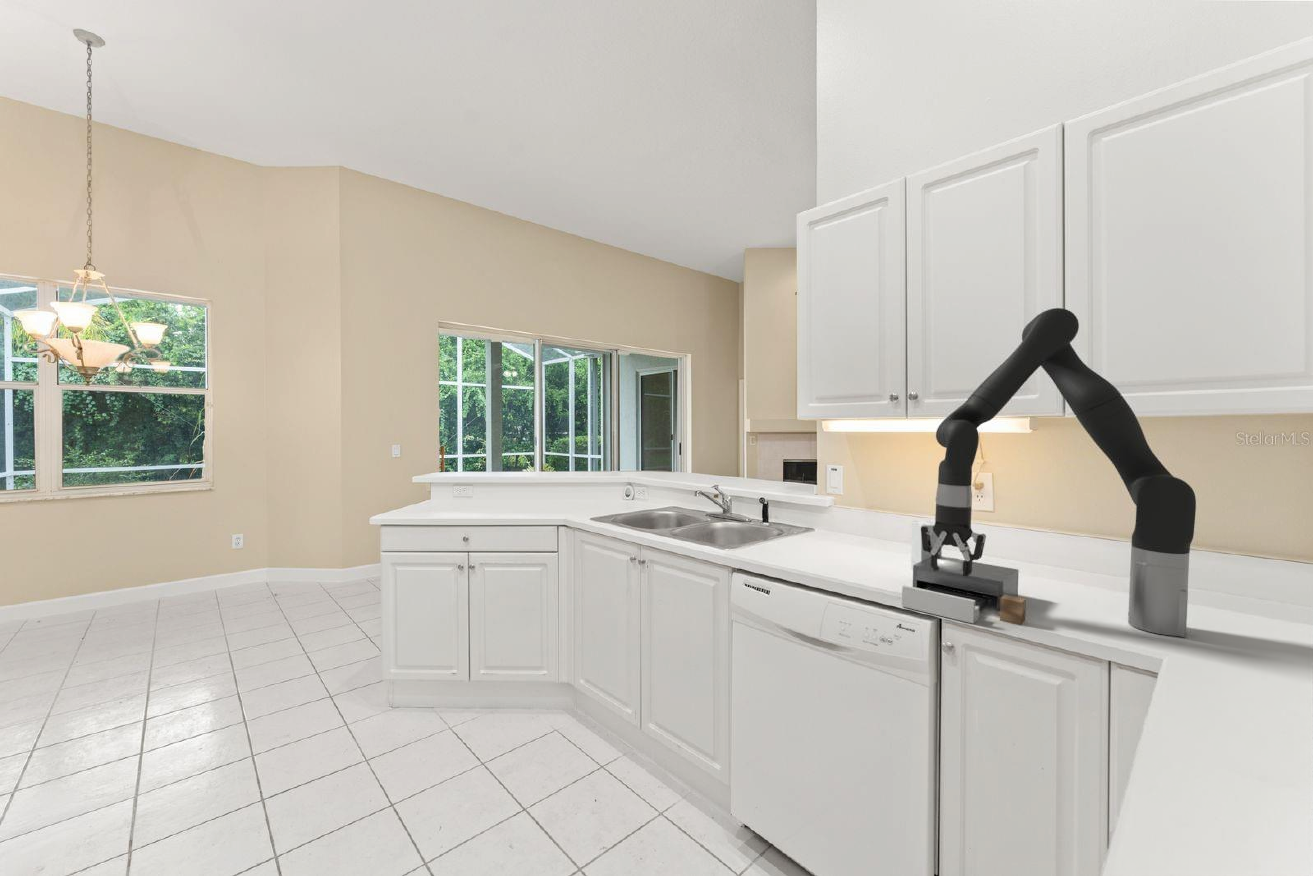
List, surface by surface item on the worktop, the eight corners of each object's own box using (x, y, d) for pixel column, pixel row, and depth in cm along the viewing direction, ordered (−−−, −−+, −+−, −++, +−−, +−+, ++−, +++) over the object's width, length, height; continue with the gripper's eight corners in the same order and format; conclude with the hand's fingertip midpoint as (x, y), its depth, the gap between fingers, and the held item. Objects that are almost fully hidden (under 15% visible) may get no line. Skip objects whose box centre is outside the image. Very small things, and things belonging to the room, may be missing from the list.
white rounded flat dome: (968, 567, 131) (968, 560, 131) (961, 572, 127) (961, 565, 127) (941, 562, 135) (941, 555, 135) (933, 566, 131) (933, 560, 131)
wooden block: (1025, 620, 121) (1025, 598, 121) (1021, 625, 118) (1022, 602, 118) (1004, 616, 124) (1004, 594, 124) (999, 620, 121) (1000, 598, 121)
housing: (1017, 597, 138) (1018, 569, 138) (1002, 611, 127) (1003, 582, 126) (933, 580, 152) (933, 555, 152) (912, 592, 141) (913, 565, 140)
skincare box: (942, 577, 155) (943, 525, 154) (919, 576, 155) (921, 524, 155) (930, 569, 163) (931, 520, 163) (909, 568, 164) (910, 519, 163)
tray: (993, 604, 131) (994, 585, 131) (973, 623, 118) (973, 601, 118) (927, 590, 141) (928, 572, 141) (901, 606, 129) (902, 586, 128)
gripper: (992, 505, 128) (988, 576, 129) (927, 498, 138) (924, 564, 139) (983, 508, 123) (980, 583, 123) (916, 501, 133) (913, 569, 133)
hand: (950, 572), depth 131 cm, fingers closed on white rounded flat dome, 6 cm apart
